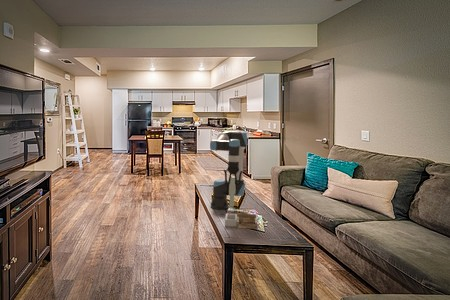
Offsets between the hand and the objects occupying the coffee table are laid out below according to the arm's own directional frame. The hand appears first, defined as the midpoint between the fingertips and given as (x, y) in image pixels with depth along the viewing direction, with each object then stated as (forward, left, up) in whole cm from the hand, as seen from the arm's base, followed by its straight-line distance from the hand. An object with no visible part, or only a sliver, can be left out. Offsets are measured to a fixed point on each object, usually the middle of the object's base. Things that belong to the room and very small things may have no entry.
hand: (232, 193), depth 239 cm
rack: (+1, +11, -22) cm, 25 cm away
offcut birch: (+4, +11, -22) cm, 25 cm away
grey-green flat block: (0, 0, -8) cm, 8 cm away
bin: (0, 0, -22) cm, 22 cm away
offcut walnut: (+4, +11, -20) cm, 23 cm away
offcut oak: (+4, +11, -18) cm, 21 cm away
